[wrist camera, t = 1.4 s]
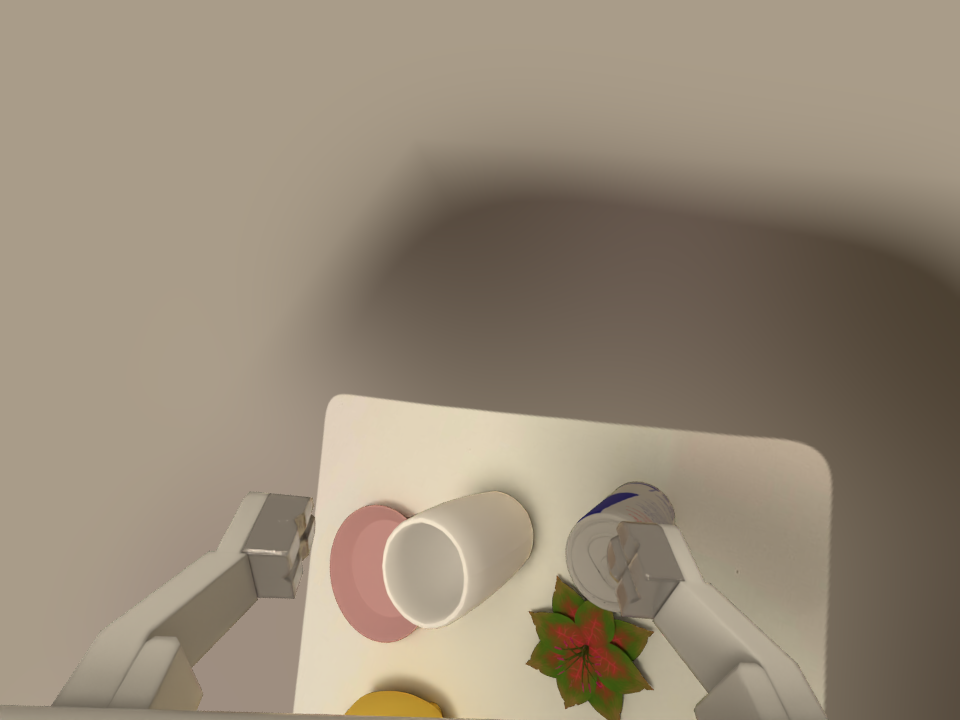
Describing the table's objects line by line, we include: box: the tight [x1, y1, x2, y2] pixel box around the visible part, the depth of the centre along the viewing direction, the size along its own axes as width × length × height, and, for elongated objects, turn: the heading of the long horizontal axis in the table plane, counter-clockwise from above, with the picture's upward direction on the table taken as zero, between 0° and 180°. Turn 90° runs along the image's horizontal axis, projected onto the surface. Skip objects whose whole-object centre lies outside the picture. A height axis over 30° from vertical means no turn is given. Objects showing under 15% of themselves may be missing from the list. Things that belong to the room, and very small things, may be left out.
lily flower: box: [526, 576, 654, 720], centre depth 38 cm, size 12×12×5 cm
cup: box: [382, 491, 534, 629], centre depth 38 cm, size 8×8×14 cm
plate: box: [330, 505, 418, 643], centre depth 49 cm, size 14×14×2 cm
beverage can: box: [566, 482, 675, 613], centre depth 32 cm, size 6×6×15 cm
